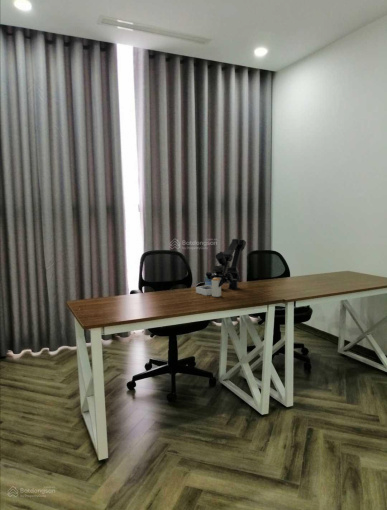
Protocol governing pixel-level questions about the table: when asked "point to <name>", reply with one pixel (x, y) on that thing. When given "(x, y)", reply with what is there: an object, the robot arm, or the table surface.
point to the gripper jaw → (216, 287)
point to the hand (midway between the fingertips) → (215, 286)
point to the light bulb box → (208, 281)
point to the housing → (204, 290)
